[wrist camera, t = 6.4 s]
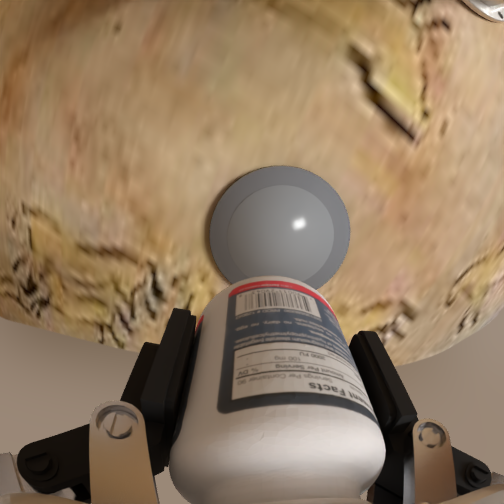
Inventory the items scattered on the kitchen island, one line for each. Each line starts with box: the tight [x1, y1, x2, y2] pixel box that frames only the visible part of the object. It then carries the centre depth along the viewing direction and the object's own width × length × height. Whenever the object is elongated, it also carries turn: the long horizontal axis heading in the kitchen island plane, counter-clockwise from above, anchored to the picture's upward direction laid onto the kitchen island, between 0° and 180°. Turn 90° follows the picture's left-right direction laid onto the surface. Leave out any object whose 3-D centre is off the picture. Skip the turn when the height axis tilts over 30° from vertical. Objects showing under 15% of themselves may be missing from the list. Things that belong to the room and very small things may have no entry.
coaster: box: [210, 165, 350, 290], centre depth 26 cm, size 12×12×1 cm
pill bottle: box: [169, 276, 386, 504], centre depth 7 cm, size 5×5×9 cm
